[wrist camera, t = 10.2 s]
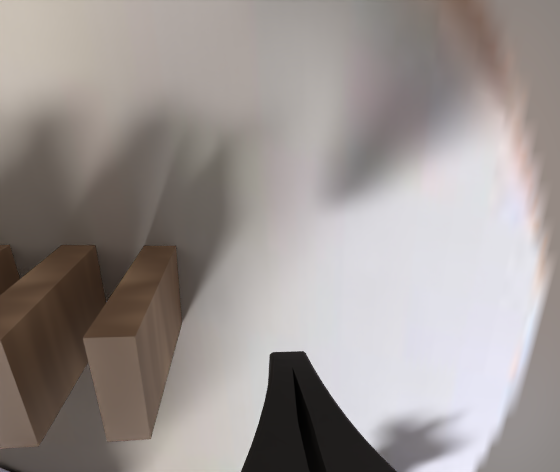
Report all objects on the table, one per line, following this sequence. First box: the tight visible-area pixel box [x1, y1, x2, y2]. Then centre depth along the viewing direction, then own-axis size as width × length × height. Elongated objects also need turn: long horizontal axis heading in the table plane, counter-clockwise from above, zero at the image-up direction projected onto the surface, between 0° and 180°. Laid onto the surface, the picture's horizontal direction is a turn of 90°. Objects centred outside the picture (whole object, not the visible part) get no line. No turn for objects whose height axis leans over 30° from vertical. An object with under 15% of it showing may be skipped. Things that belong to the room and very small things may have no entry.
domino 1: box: [0, 245, 106, 449], centre depth 14 cm, size 2×5×7 cm, turn 176°
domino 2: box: [83, 246, 182, 442], centre depth 14 cm, size 2×5×7 cm, turn 176°
